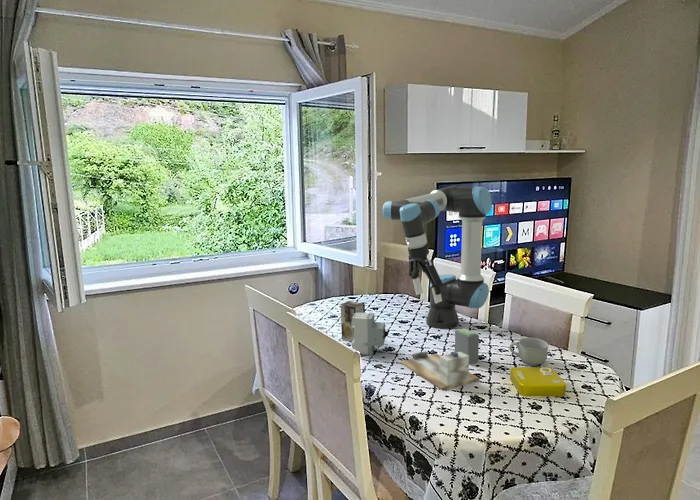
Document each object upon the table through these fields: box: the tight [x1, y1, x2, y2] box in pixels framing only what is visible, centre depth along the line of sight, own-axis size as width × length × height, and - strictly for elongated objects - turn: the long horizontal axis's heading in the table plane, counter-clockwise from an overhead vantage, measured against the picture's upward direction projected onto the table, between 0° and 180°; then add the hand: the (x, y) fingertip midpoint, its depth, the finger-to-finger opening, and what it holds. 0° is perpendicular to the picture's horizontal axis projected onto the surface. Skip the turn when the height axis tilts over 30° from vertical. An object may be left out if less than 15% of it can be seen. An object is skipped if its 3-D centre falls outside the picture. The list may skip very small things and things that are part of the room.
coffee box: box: [339, 300, 366, 343], centre depth 222 cm, size 9×6×16 cm
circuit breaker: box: [351, 312, 390, 355], centre depth 208 cm, size 8×14×15 cm, turn 78°
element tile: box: [509, 366, 567, 397], centre depth 174 cm, size 15×15×5 cm
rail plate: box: [400, 350, 480, 391], centre depth 186 cm, size 16×26×11 cm, turn 26°
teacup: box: [508, 337, 549, 366], centre depth 194 cm, size 14×11×8 cm
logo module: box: [454, 328, 480, 365], centre depth 197 cm, size 5×8×12 cm, turn 26°
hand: (428, 297), depth 194 cm, fingers open, 13 cm apart
